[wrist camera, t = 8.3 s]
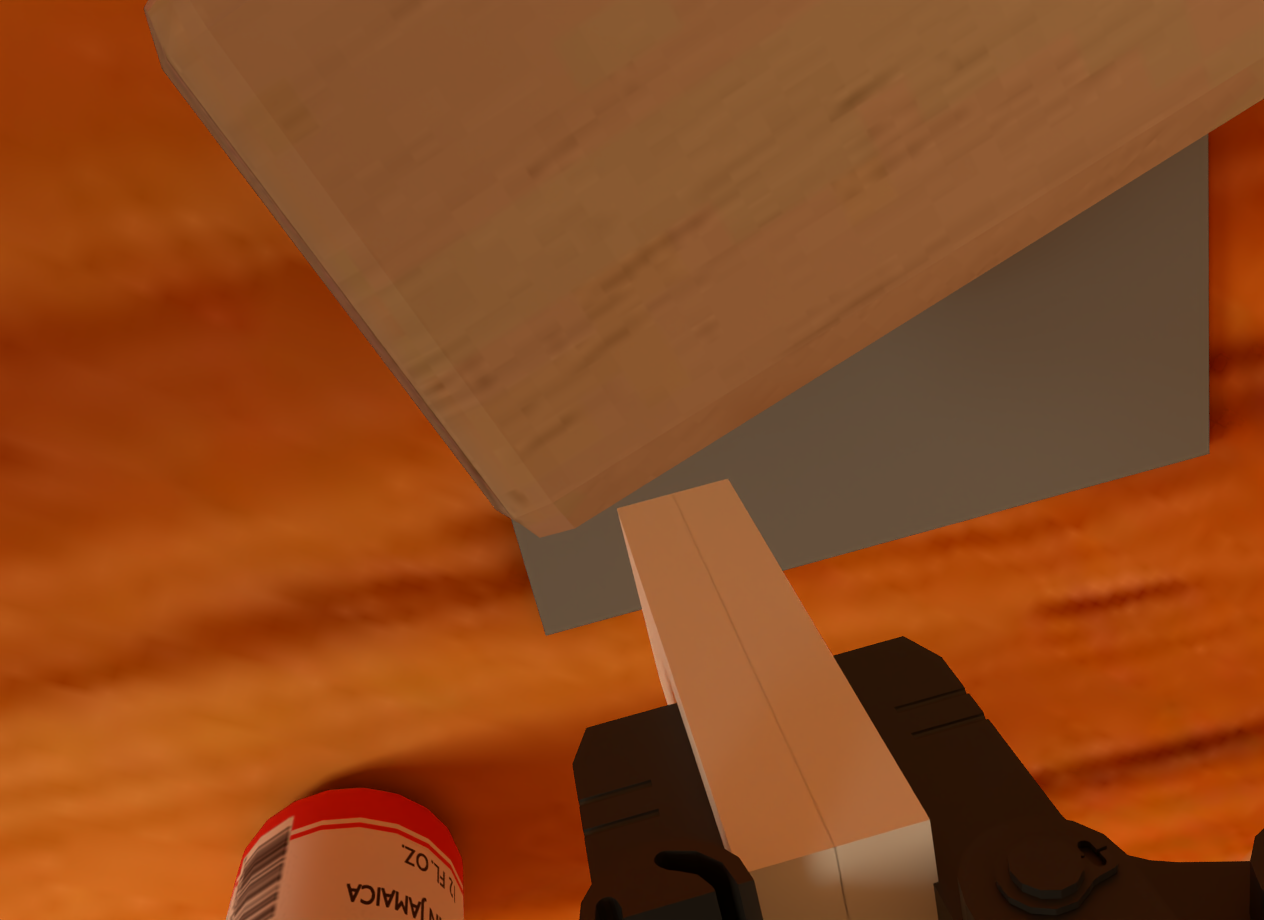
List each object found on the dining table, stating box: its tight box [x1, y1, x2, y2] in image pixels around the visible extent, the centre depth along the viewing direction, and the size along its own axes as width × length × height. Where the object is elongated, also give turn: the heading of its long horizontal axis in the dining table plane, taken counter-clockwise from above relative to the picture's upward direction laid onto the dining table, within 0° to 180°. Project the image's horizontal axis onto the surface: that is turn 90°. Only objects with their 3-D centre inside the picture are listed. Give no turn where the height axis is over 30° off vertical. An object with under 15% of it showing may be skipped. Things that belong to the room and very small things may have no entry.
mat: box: [511, 134, 1209, 635], centre depth 27 cm, size 19×16×1 cm
